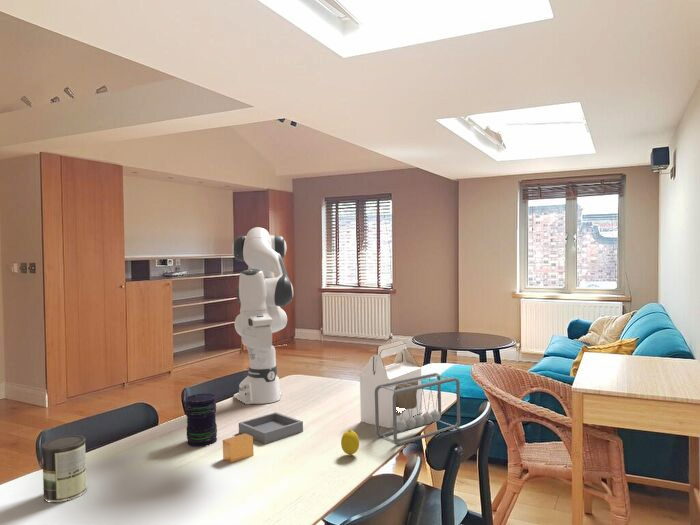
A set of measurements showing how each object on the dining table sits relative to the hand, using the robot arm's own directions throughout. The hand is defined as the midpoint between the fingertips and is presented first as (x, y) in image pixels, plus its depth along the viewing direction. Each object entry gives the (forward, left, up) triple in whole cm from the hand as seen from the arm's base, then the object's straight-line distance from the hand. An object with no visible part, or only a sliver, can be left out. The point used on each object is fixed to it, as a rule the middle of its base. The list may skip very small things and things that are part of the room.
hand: (257, 361), depth 169 cm
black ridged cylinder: (-18, -11, -28) cm, 35 cm away
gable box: (+13, +50, -28) cm, 59 cm away
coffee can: (-10, -55, -28) cm, 62 cm away
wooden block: (+3, -10, -28) cm, 30 cm away
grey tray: (-8, +10, -28) cm, 30 cm away
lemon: (+28, +14, -28) cm, 42 cm away
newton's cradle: (+31, +44, -28) cm, 61 cm away
